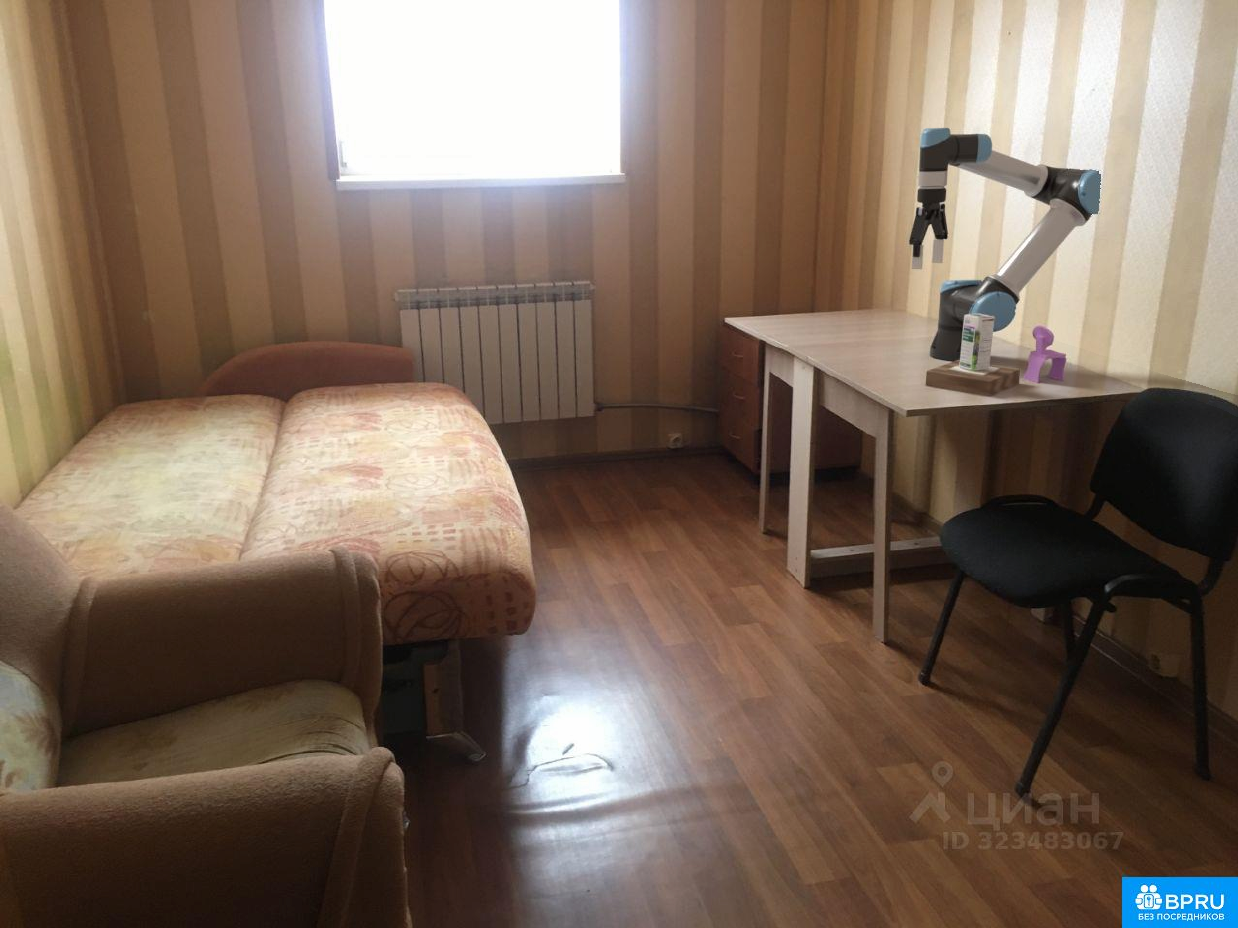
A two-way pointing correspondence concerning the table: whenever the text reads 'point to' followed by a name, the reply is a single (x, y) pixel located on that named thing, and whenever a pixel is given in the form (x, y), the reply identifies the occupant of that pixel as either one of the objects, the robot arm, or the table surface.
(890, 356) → the table surface
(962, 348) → the syrup box
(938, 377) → the walnut base
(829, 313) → the table surface
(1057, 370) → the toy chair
